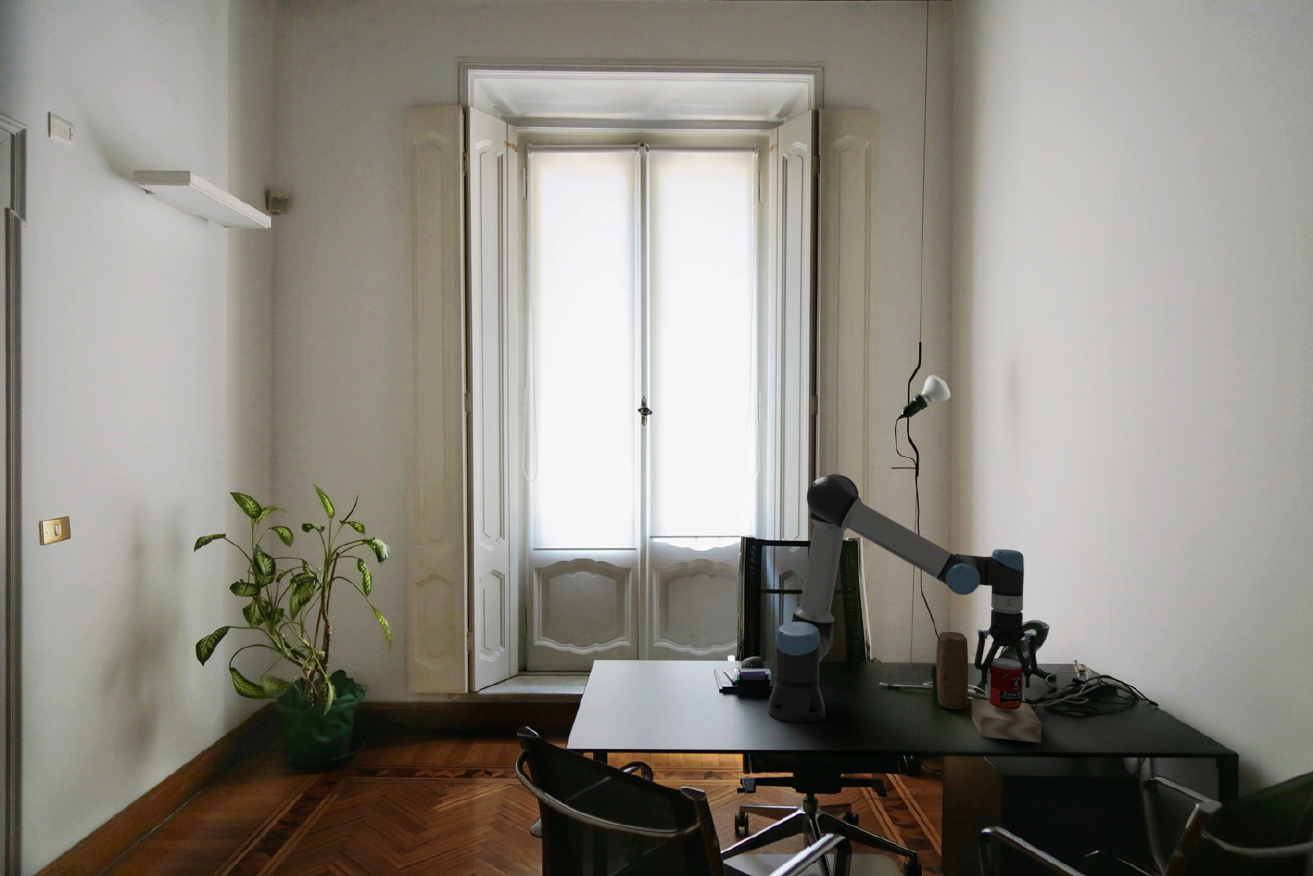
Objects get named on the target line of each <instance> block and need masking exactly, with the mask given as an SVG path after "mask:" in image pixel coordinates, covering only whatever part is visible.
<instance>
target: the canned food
mask: <svg viewBox="0 0 1313 876" xmlns="http://www.w3.org/2000/svg"><path fill="white" fill-rule="evenodd" d="M989 672H990V673H991V690H990V698H988V700H989V701H990V703H991V704H992V705H993V706H995V707H998V708H1002V709H1008V710H1015V709H1019V708H1020V706H1021V703H1022V701H1021V694H1022V673H1023V670H1022V665H1021V663H1020V662H1019V661H1018V660H1014V659H1010V658H1004V657H994V659H993V661H992V663H991V665H990V668H989Z"/></svg>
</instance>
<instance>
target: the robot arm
mask: <svg viewBox="0 0 1313 876" xmlns="http://www.w3.org/2000/svg"><path fill="white" fill-rule="evenodd" d="M859 495H860V494H859V489H858V487H857V485H856V484H855V482H854V481H853V480H852V479H851V478H850V477H848V476H846V475H841V474H839V473H838V474H837V473H831V474H828V475H825V476H821V477H818V478H816V479H815V480H814V481H812V483H811V484H810V485H809V486H808V489H807V492H806V502H807V505H808V507H809V509H810V514H809V519H810V521H811V522H812V524H813V529H812V535H811V541H810V546H809V553H808V558H807V564H806V569H805V574H804V581H803V585H802V593H801V598H800V599H801V600H800V604H799V606H797V607H796V608H794V609H793V612H792V618H791V621H790V622H788V623H787V622H786V623H783V624H781V625H779V626H778V628H777V630H776V633H775V634H776V635H775V639H774V640H775V642H774V643H775V670H774V671H775V673H774V674H775V678H774V680H775V681H774V686H773V688H772V691H771V694H770V697H769V700H768V706H767V709H768V710H767V712H768V714H769V715H770V716H772V717H774V718H776V719H778V720H781V721H784V722H788V723H795V724H797V723H798V724H809V723H810V724H811V723H816V722H819V721H821V720H823V719H824V718H825V717H826V706H825V703H824V699H823V696H822V693H821V689H820V662H821V661H822V660H823V658H825V657H826V656H827V655H828V654H829V653H830V650H831V649H832V648H833V645H834V639H835V637H834V631H833V628H834V623H835V617H834V616H833V614H832V613H831V609H832V603H833V597H834V591H835V585H836V581H837V575H838V569H839V565H840V564H839V563H840V558H841V552H842V547H843V540H844V534H845V531H846V530H847V529H848V530H850V531H852V532H854V533H856V534H858V536H861V537H863V538H865V539H866V540H868V541H869V542H872V543H873V544H875V545H877V546H878V547H881V548H883V550H885V551H887V552H889V553H891V554H893V556H896V557H898V558H900V559H901V560H903V561H905V562H906V563H908V564H910V565H912V566H913V567H916V568H917V569H919V570H921V571H923V572H924V573H926V574H927V575H929V576H931V577H933V578H935V580H938V581H939V582H941V583H943V584H945V585H946V586H947V587H948V588H949V589H950V591H952V592H953V593H955V594H956V595H959V596H967V595H971V594H972V593H974V592H975V591H976V589H978V588H979V586H986V587H988V586H989V587H991V596H990V597H991V600H990V601H991V603H990V606H991V608H992V609H991V610H990V626H989V628H988V629H986V630H985V629H984V630H982V629H979V630H977V634H978V635H977V636H978V642H977V645H976V646H977V648H976V653H975V657H974V662H973V663H974V664H973V666H974V667H975V669H976V670H978V671H980V672H981V679H980V680H981V683H982V685H985V686H984V687H985V693H984V694H985V695H984V696H985V697H986V699H989V698H990V690H991V673H990V672H989V668H990V665H991V663H992V661H993V659H994V658H996V655H997V653H998V651H999V649H1000V648H1001V647H1002V648H1004V647H1008V648H1013V650H1014V652H1015V655H1016V657H1017V659H1018V660H1017V661H1018V662H1019V663H1021V665H1022V694H1021V702H1022V703H1024V702H1025V703H1026V689H1029V688H1030V687H1031V686H1030V685H1031V683H1030V682H1031V676H1032V675H1037V674H1039V667H1038V663H1037V662H1038V661H1037V655H1036V648H1035V643H1036V639H1037V638H1036V636H1035V635H1034V634H1033V633H1032V632H1029V633H1028V632H1025V631H1024V630H1023V629H1024V628H1023V626H1024V625H1023V624H1024V621H1023V619H1024V617H1023V616H1024V613H1023V612H1022V611H1023V610H1024V582H1025V581H1024V579H1025V560H1024V558H1025V557H1024V554H1023V553H1022V551H1021V552H1020V551H1019V550H1013V549H1000V548H998V549H993V551H992V554H991V556H981V555H980V556H979V555H968V554H960V553H951V551H948V550H946V549H945V548H943V547H942V546H939V545H938V544H936V543H934V542H932V541H930V540H929V539H927V538H925V537H923V536H921V535H920V534H918V533H916V532H914V531H912V530H910V529H909V528H907V527H905V526H904V525H901V523H898V522H896V521H894V519H892V518H889V517H888V516H886V515H884V514H883V513H880V512H878V511H877V510H875V509H873V508H872V507H870V506H868V505H866V504H864V503H863V502H862V498H861V497H859ZM989 636H990V637H991V638H992V640H993V641H992V642H991V646H990V647H989V650H988V652H987V654H986V656H985V658H984V657H983V656H984V651H985V645H986V640H987V639H988V637H989ZM1023 638H1024V641H1026V645H1027V646H1026V647H1027V652H1028V653H1027V654H1028V659H1029V660H1028V661H1029V666H1030V667H1028V664H1027V662H1026V659H1025V657H1024V654H1023V652H1022V649H1021V647H1020V645H1019V644H1020V642H1021V640H1023ZM983 658H984V661H983ZM982 661H983V663H982Z"/></svg>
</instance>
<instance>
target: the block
mask: <svg viewBox="0 0 1313 876" xmlns="http://www.w3.org/2000/svg"><path fill="white" fill-rule="evenodd" d="M936 643H937V645H936V659H935V660H936V661H935V663H936V691H937V701H938V704H939V705H940V706H941V707H942V708H945V709H949V710H957V711H960V710H963V709H965V708H967V706H968V698H969V697H968V696H969V692H968V691H969V653H968V652H969V650H968V649H969V646H968V639H967V637H966V636H965V635H964V634H963V633H962V632H958V631H957V632H956V631H941V633H939V635H938V639H937V642H936Z"/></svg>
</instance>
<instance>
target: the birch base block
mask: <svg viewBox="0 0 1313 876" xmlns="http://www.w3.org/2000/svg"><path fill="white" fill-rule="evenodd" d="M970 715H971V719H972V722H973V724H974V726H975V728H976V730H977V733H978V734H979V736H980V737H981V738H991V739H992V738H993V739H1001V740H1011V741H1021V742H1032V743H1040V744H1041V742H1042V722H1041V720H1040V719H1039V717H1038V715H1036V713H1035V711H1034V710H1033V709H1032V708H1031V706H1030V705H1029V703H1026V702H1025V703H1024V702H1021V706H1020V708H1019V709H1015V710H1008V709H1002V708H998V707H995V706H993V705H992V704H991V703H990V701H989V699H981V698H980V699H979V698H971V713H970Z"/></svg>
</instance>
